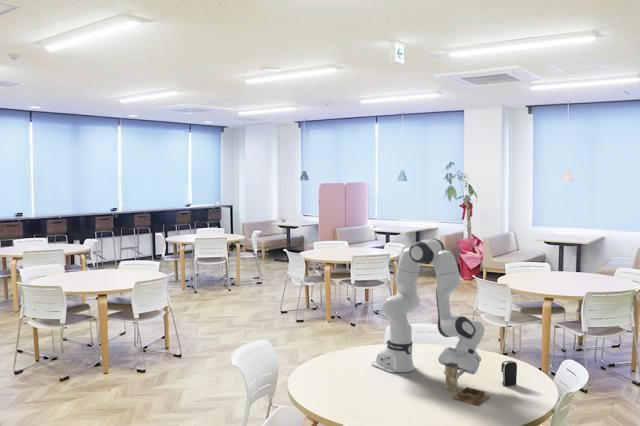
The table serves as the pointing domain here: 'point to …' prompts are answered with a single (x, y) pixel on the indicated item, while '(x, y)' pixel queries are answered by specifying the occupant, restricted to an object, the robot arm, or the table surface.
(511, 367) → the battery charger
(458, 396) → the dock
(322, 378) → the table surface
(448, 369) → the tall wooden pillar
